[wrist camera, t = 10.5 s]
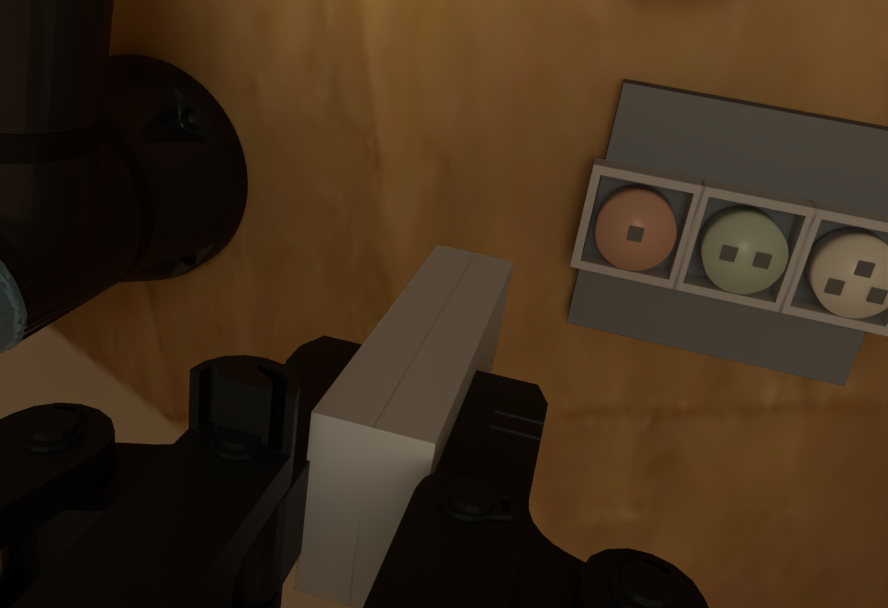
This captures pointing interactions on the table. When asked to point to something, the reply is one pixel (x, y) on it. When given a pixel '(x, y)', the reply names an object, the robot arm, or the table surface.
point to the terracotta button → (635, 227)
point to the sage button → (743, 250)
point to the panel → (720, 187)
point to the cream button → (850, 272)
